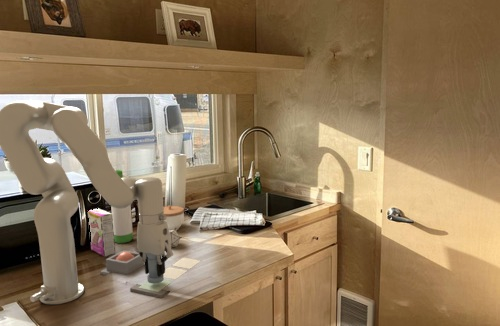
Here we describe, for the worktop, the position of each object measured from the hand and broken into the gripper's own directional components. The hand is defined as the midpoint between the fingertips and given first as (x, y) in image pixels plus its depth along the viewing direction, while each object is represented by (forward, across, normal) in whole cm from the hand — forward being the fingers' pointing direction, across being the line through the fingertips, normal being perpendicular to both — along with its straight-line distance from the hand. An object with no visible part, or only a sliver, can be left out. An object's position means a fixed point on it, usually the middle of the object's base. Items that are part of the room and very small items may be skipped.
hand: (155, 272), depth 131 cm
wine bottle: (+5, +39, -30) cm, 49 cm away
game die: (+5, +15, -30) cm, 34 cm away
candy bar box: (+5, +38, -17) cm, 42 cm away
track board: (+5, 0, -9) cm, 10 cm away
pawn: (+2, 0, 0) cm, 2 cm away
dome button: (+4, +18, -7) cm, 20 cm away
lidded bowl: (+5, +29, -50) cm, 58 cm away
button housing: (+5, +18, -7) cm, 20 cm away
